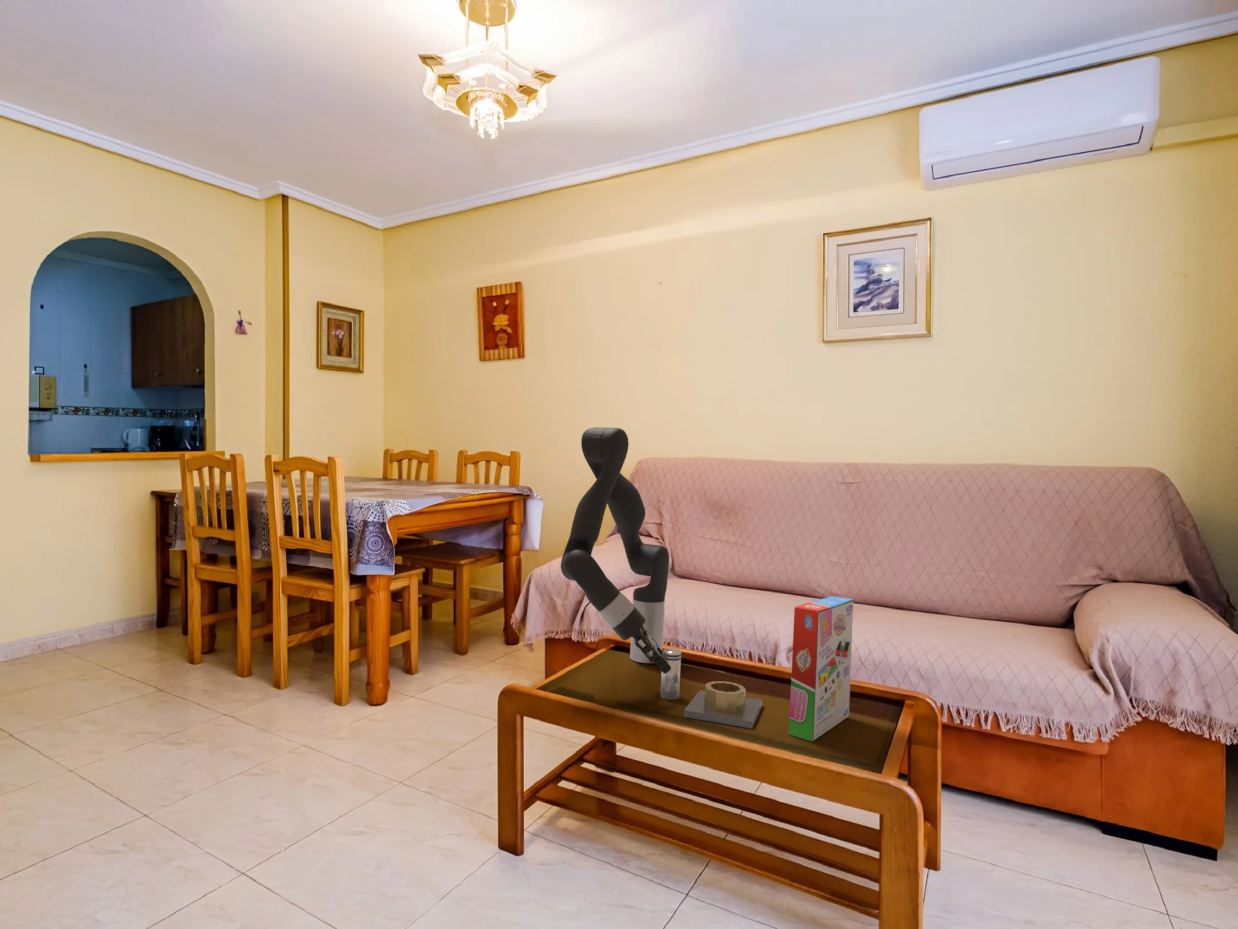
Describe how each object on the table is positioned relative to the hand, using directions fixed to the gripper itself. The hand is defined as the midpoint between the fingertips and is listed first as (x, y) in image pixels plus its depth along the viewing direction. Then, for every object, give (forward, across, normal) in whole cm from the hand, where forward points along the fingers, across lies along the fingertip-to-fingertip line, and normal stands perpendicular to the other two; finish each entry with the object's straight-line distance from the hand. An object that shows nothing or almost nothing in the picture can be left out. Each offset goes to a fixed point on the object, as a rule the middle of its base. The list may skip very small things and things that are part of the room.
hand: (666, 666), depth 161 cm
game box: (+29, -15, -18) cm, 37 cm away
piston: (+6, 0, +4) cm, 7 cm away
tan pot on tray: (+14, -8, -4) cm, 17 cm away
